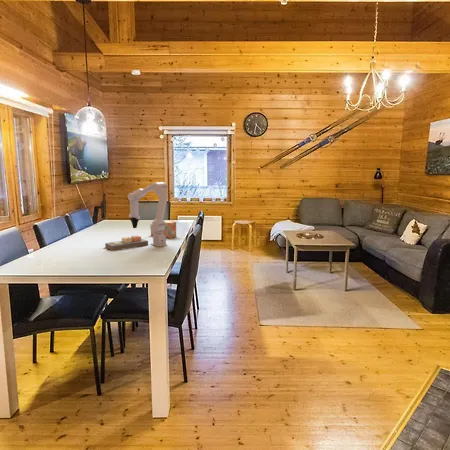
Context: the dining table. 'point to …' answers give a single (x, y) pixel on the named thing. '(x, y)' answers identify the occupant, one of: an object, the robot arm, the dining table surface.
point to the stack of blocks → (169, 229)
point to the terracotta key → (136, 238)
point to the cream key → (126, 239)
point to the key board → (125, 245)
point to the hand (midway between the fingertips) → (134, 227)
